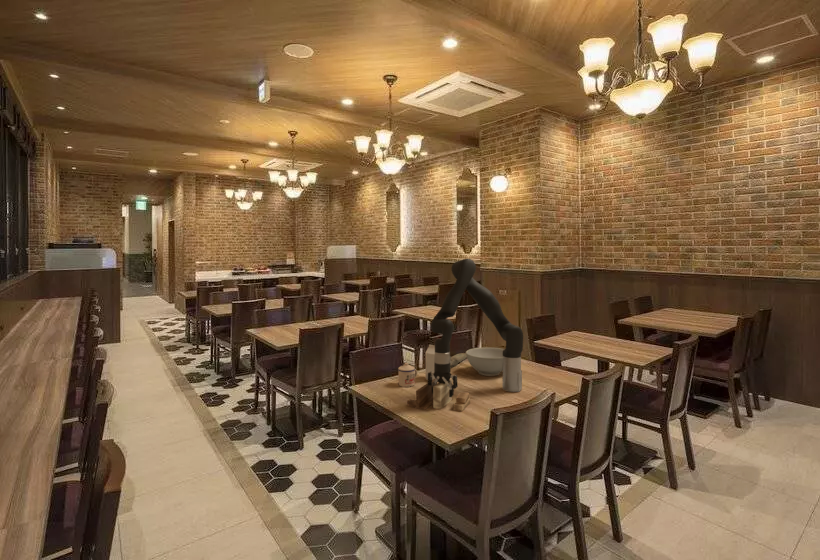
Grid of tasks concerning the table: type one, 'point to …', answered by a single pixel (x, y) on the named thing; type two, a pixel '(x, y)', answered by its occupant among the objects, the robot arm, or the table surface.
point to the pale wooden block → (441, 395)
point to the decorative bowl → (486, 360)
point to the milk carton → (430, 360)
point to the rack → (422, 397)
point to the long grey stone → (457, 359)
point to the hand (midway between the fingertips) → (442, 395)
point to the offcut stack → (462, 401)
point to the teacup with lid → (407, 375)
